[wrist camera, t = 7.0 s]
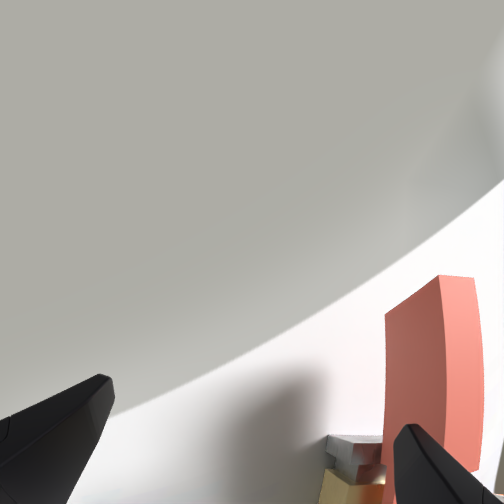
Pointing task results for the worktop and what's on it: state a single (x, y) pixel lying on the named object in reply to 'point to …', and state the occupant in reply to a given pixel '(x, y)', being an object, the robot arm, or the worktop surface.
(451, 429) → the lever
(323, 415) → the worktop surface
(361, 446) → the valve body
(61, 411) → the robot arm
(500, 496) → the skincare box
